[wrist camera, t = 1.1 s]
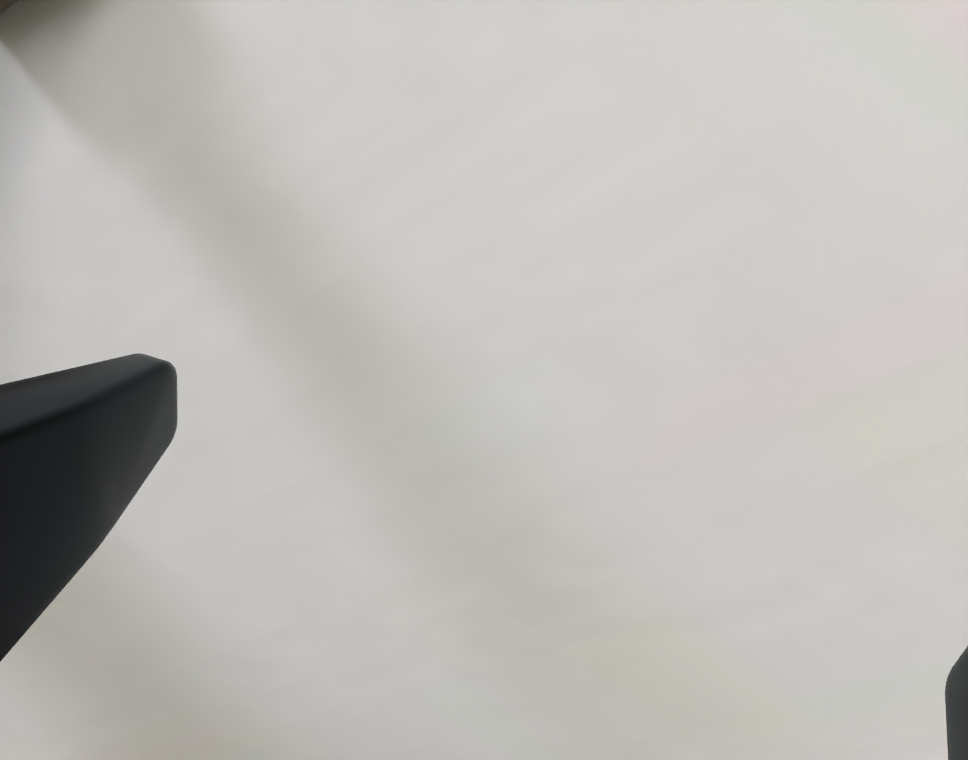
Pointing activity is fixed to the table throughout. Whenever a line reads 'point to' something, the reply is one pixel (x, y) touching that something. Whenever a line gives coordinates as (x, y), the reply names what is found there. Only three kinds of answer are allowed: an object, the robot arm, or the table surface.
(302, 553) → the table surface
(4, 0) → the mug rack
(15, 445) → the robot arm
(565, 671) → the table surface
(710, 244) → the table surface
